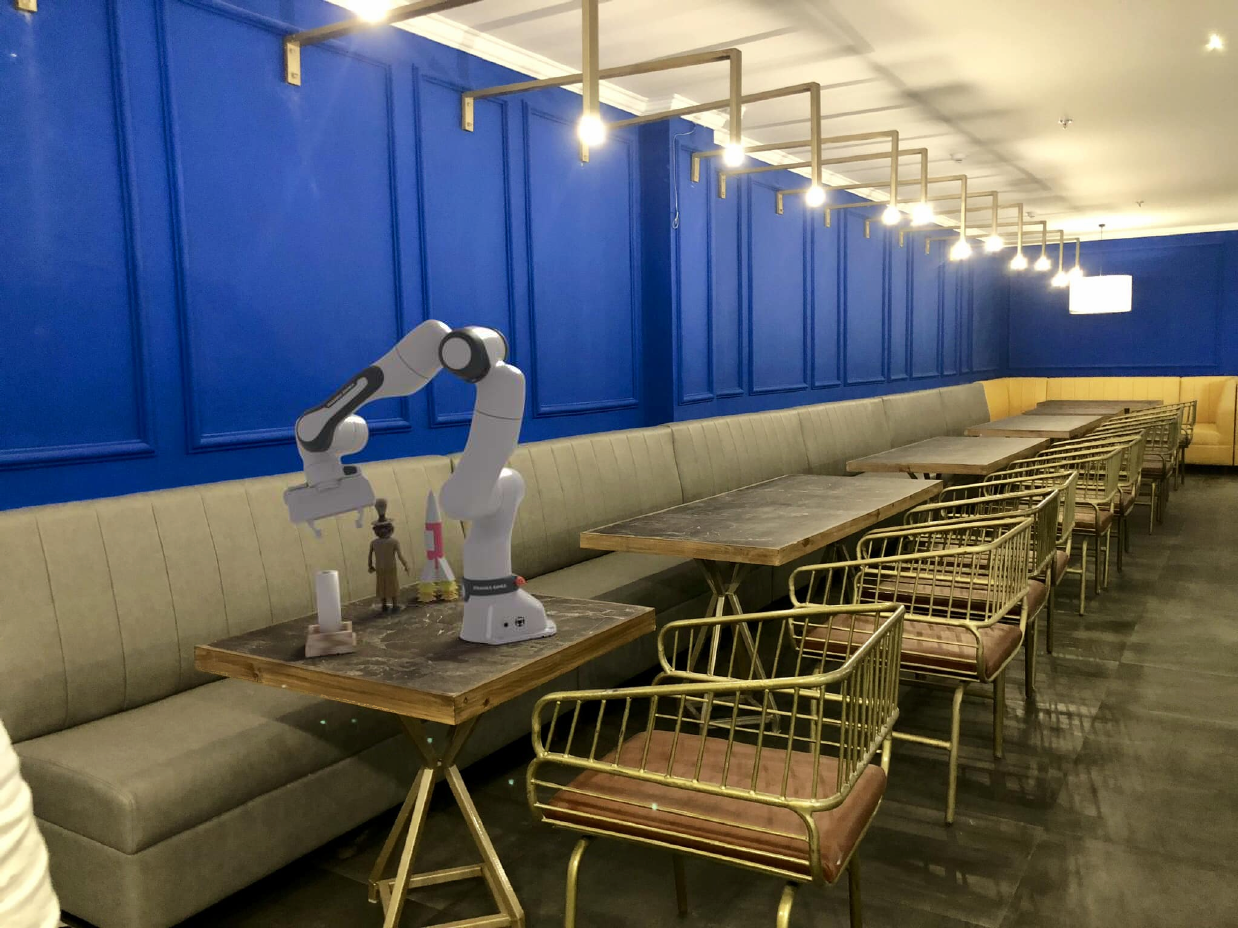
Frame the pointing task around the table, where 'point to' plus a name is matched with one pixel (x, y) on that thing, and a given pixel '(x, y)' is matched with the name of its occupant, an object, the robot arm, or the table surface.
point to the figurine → (386, 559)
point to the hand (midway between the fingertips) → (339, 532)
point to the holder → (330, 641)
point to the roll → (328, 601)
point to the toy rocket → (435, 557)
